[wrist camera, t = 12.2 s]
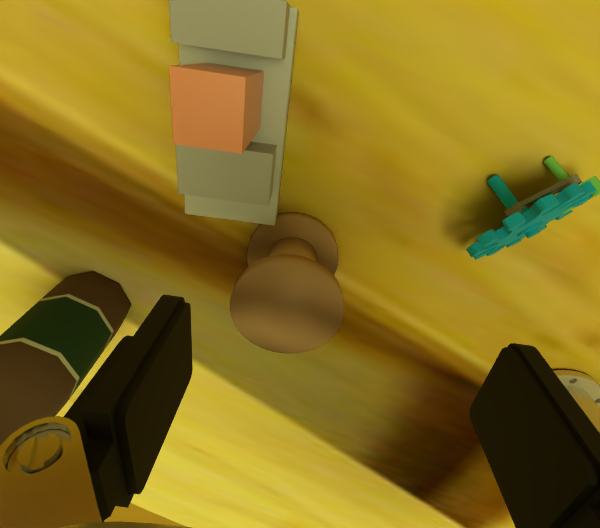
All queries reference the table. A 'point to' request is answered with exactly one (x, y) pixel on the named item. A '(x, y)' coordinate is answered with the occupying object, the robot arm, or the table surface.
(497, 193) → the teal lobed piece
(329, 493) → the table surface
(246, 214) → the grey notched block
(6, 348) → the beer bottle
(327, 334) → the bobbin
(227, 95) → the orange rectangular block
